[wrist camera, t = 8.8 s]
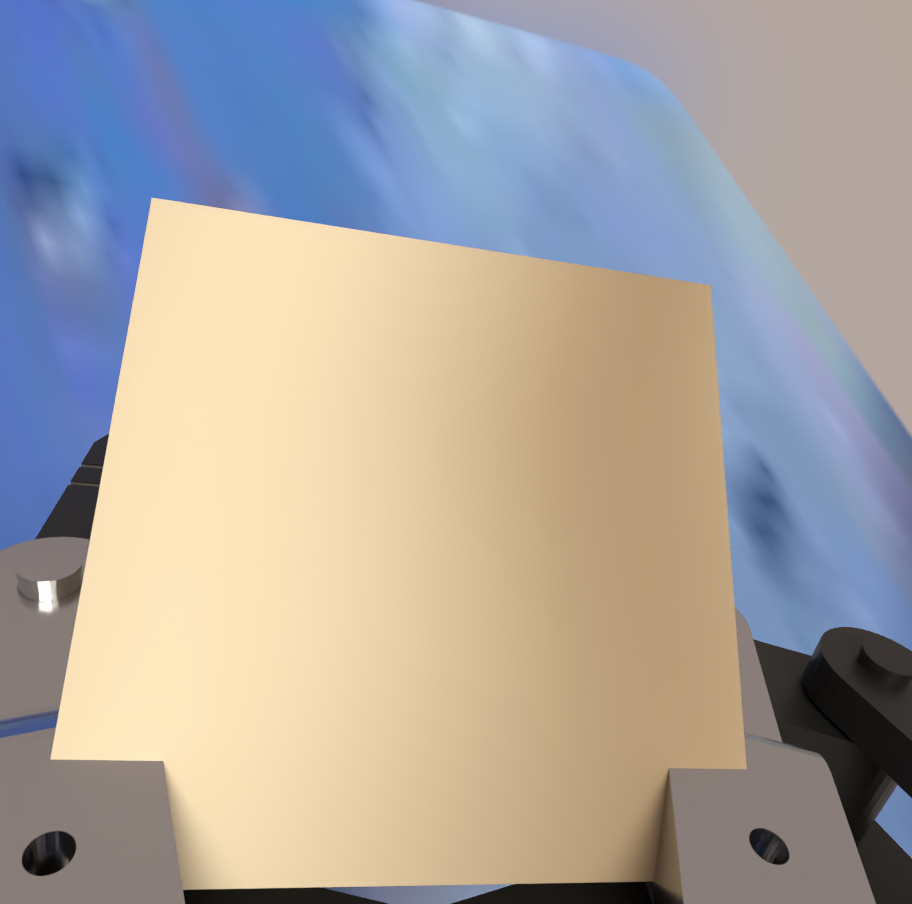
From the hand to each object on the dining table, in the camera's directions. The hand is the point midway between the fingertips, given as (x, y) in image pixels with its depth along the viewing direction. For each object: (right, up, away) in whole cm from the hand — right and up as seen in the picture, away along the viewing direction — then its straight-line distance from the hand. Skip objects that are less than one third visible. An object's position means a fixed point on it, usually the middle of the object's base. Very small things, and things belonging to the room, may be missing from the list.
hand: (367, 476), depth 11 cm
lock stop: (-1, -3, +3) cm, 5 cm away
